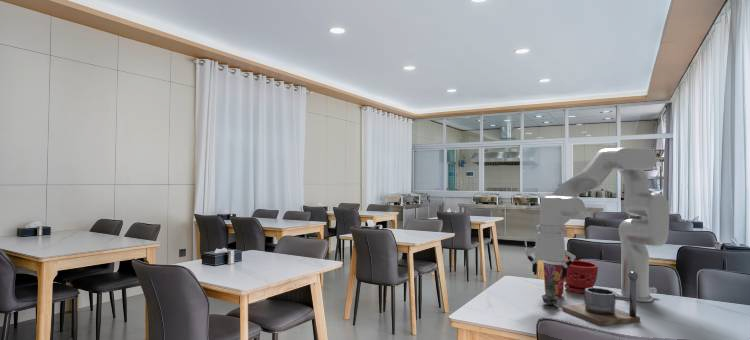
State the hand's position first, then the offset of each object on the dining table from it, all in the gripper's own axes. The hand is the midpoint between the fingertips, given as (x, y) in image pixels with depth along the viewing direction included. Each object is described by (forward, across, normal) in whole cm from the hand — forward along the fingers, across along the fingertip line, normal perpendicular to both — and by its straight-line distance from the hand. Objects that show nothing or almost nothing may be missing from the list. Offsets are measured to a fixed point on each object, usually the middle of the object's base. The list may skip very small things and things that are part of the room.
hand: (549, 276), depth 160 cm
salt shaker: (+12, +1, +1) cm, 12 cm away
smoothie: (+11, +1, +18) cm, 21 cm away
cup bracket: (+11, +17, -2) cm, 20 cm away
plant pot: (+11, +10, +31) cm, 34 cm away
